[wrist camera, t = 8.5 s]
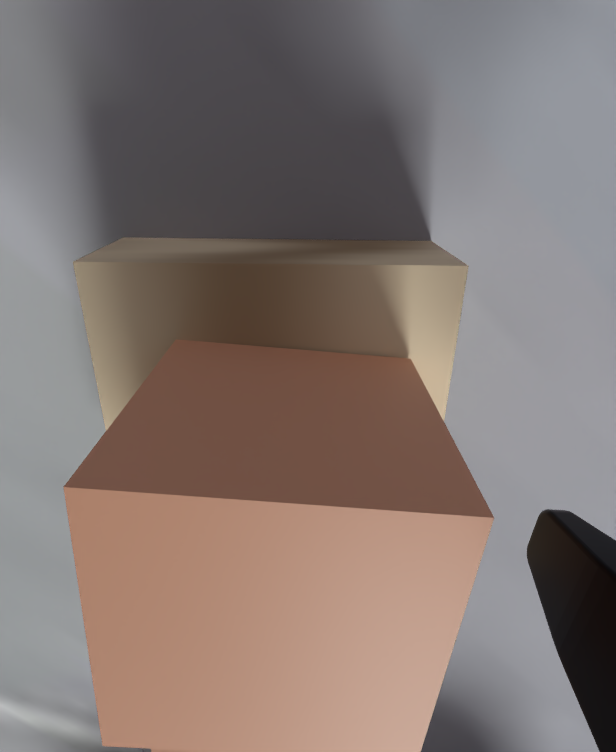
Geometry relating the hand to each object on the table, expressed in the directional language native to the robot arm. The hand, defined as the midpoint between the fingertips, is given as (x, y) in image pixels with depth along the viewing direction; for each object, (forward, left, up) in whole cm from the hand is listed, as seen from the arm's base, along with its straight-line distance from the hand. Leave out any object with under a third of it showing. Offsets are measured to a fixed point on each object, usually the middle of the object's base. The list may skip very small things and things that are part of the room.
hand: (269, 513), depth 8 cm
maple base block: (0, 0, -5) cm, 5 cm away
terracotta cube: (0, 0, -2) cm, 2 cm away
